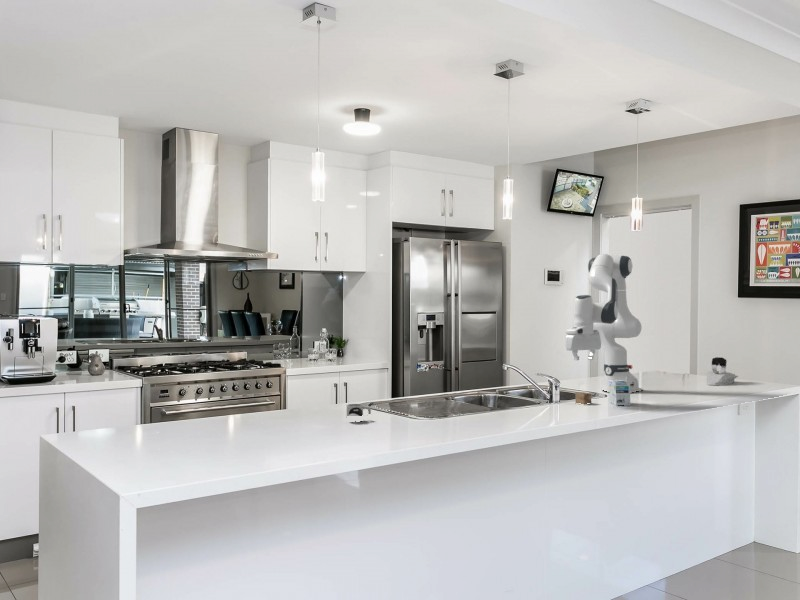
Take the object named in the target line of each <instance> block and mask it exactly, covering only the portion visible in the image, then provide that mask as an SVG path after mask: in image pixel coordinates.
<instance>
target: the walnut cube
mask: <svg viewBox="0 0 800 600" xmlns="http://www.w3.org/2000/svg"><path fill="white" fill-rule="evenodd" d="M576 403H581V404H587V403H591V404H592V393H590V392H583V391H582V392H575V404H576ZM581 404H580V405H581Z"/></svg>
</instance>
